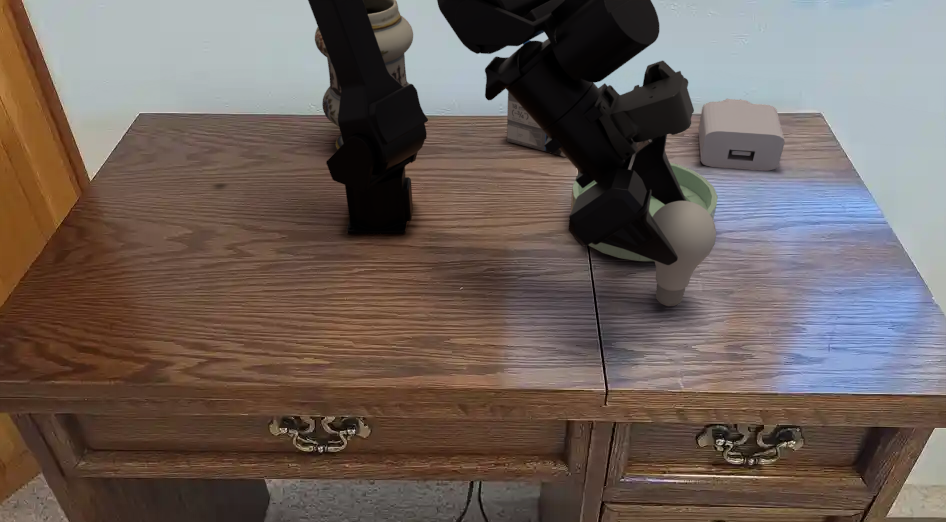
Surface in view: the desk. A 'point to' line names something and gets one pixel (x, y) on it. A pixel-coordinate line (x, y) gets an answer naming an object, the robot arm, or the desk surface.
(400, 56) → the apothecary jar
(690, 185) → the bowl
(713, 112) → the charger
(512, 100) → the blue grey carton
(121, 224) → the desk surface
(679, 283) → the lightbulb
